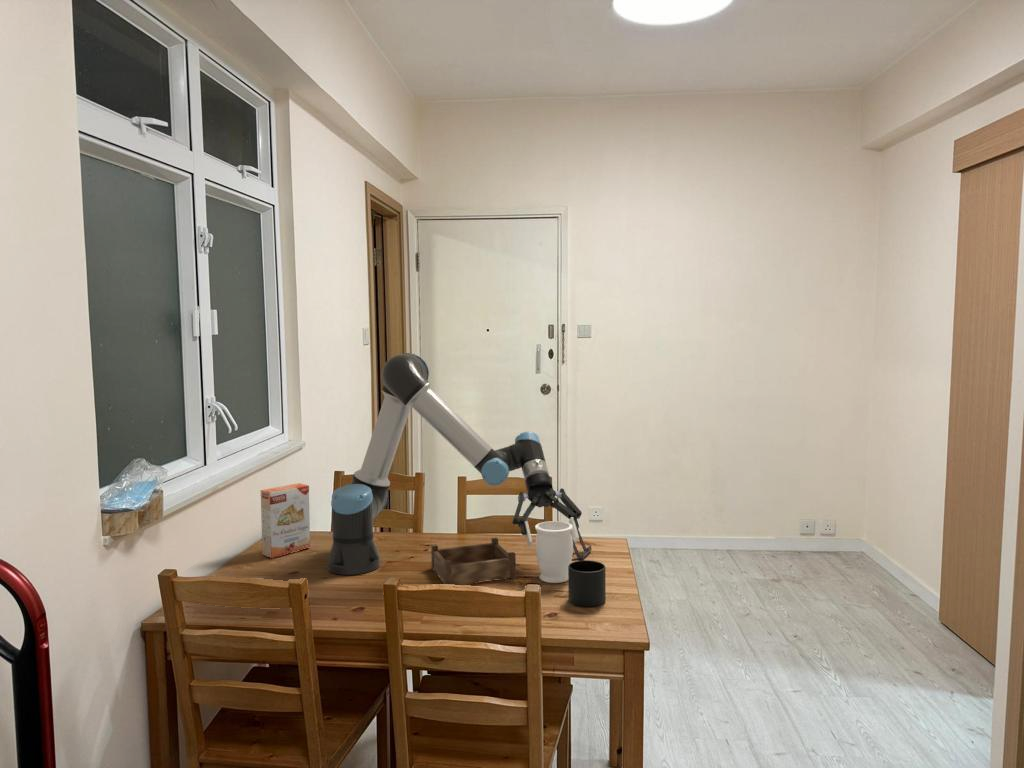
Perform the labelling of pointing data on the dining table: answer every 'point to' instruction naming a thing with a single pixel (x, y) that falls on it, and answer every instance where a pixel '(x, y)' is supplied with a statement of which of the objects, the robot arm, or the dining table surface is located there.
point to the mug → (586, 583)
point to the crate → (473, 563)
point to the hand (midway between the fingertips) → (553, 542)
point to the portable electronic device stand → (586, 550)
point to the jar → (554, 550)
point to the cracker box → (285, 519)
